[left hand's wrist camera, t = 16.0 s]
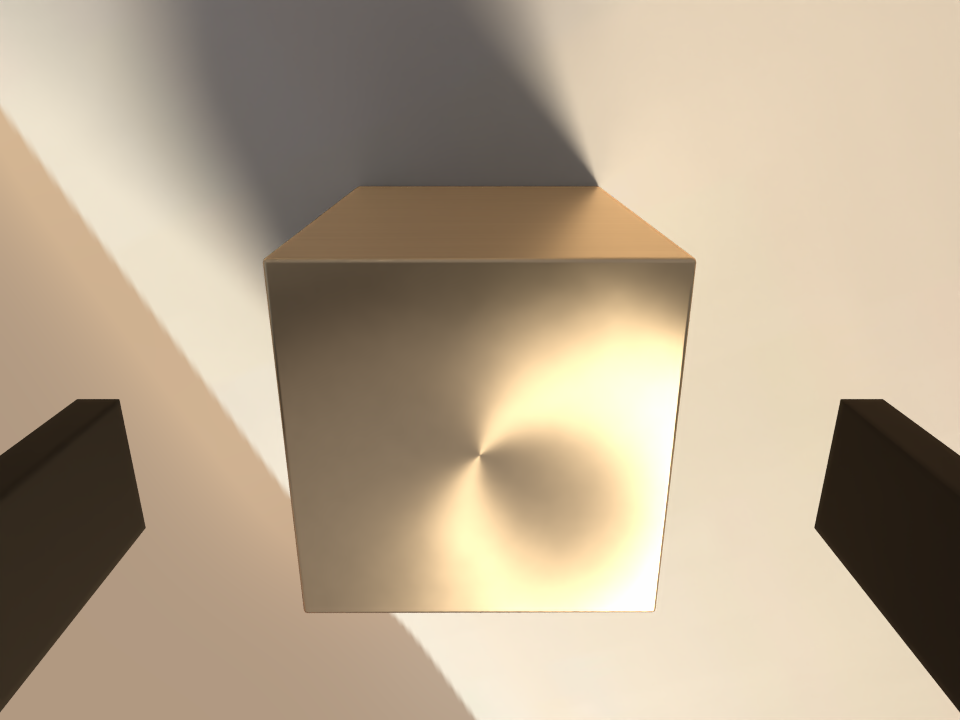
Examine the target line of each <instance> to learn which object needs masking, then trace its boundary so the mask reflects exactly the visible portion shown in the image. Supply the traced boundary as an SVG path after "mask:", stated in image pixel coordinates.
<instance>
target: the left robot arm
mask: <svg viewBox="0 0 960 720" xmlns="http://www.w3.org/2000/svg"><path fill="white" fill-rule="evenodd" d="M814 528H815V529H816V531H817V532H818V533H819V534H820V536H821V537H822V538H823V539H824V541H825V542H826V543H827V544H828V546H829V547H830V548H831V550H832V551H833V552H834V553H835V555H836V556H837V557H838V558H839V560H840V561H841V562H842V563H843V565H844V566H845V567H846V569H847V570H848V571H849V572H850V574H851V575H852V576H853V577H854V579H855V580H856V581H857V582H858V584H859V585H860V586H861V588H862V589H863V590H864V591H865V593H866V594H867V595H868V596H869V598H870V599H871V600H872V601H873V603H874V604H875V605H876V607H877V608H878V609H879V610H880V612H881V613H882V614H883V615H884V617H885V618H886V619H887V620H888V622H889V623H890V624H891V626H892V627H893V628H894V629H895V631H896V632H897V633H898V634H899V636H900V637H901V638H902V639H903V641H904V642H905V643H906V645H907V646H908V647H909V648H910V650H911V651H912V652H913V653H914V655H915V656H916V657H917V658H918V660H919V661H920V662H921V664H922V665H923V666H924V667H925V669H926V670H927V671H928V672H929V674H930V675H931V676H932V678H933V679H934V680H935V681H936V683H937V684H938V685H939V686H940V688H941V689H942V690H943V691H944V693H945V694H946V695H947V697H948V698H949V699H950V700H951V702H952V703H953V704H954V705H955V707H956V708H957V709H958V710H959V712H960V455H958V454H957V453H956V452H954V451H953V450H951V449H950V448H949V447H947V446H946V445H945V444H943V443H942V442H940V441H939V440H938V439H936V438H935V437H934V436H932V435H931V434H930V433H928V432H927V431H925V430H924V429H923V428H921V427H920V426H919V425H917V424H916V423H915V422H913V421H912V420H910V419H909V418H908V417H906V416H905V415H904V414H902V413H901V412H900V411H898V410H897V409H895V408H894V407H893V406H891V405H890V404H889V403H887V402H886V401H885V400H883V399H841V400H840V405H839V410H838V415H837V420H836V425H835V430H834V435H833V440H832V444H831V449H830V454H829V459H828V464H827V469H826V474H825V479H824V483H823V488H822V493H821V498H820V503H819V508H818V513H817V518H816V523H815V527H814ZM144 529H145V523H144V518H143V513H142V508H141V503H140V498H139V493H138V488H137V483H136V479H135V474H134V469H133V464H132V459H131V454H130V449H129V445H128V440H127V435H126V430H125V425H124V420H123V415H122V410H121V405H120V401H119V399H77V400H75V401H74V402H73V403H71V404H70V405H69V406H67V407H66V408H65V409H63V410H62V411H60V412H59V413H58V414H56V415H55V416H54V417H52V418H51V419H50V420H48V421H47V422H45V423H44V424H43V425H41V426H40V427H39V428H37V429H36V430H35V431H33V432H32V433H30V434H29V435H28V436H26V437H25V438H24V439H22V440H21V441H20V442H18V443H17V444H15V445H14V446H13V447H11V448H10V449H9V450H7V451H6V452H5V453H3V454H2V455H0V712H1V710H2V709H3V708H4V707H5V705H6V704H7V703H8V702H9V700H10V699H11V698H12V696H13V695H14V694H15V693H16V691H17V690H18V689H19V688H20V686H21V685H22V684H23V683H24V681H25V680H26V679H27V677H28V676H29V675H30V674H31V672H32V671H33V670H34V669H35V667H36V666H37V665H38V664H39V662H40V661H41V660H42V658H43V657H44V656H45V655H46V653H47V652H48V651H49V650H50V648H51V647H52V646H53V645H54V643H55V642H56V641H57V639H58V638H59V637H60V636H61V634H62V633H63V632H64V631H65V629H66V628H67V627H68V625H69V624H70V623H71V622H72V620H73V619H74V618H75V617H76V615H77V614H78V613H79V612H80V610H81V609H82V608H83V606H84V605H85V604H86V603H87V601H88V600H89V599H90V598H91V596H92V595H93V594H94V593H95V591H96V590H97V589H98V588H99V586H100V585H101V584H102V582H103V581H104V580H105V579H106V577H107V576H108V575H109V574H110V572H111V571H112V570H113V569H114V567H115V566H116V565H117V563H118V562H119V561H120V560H121V558H122V557H123V556H124V555H125V553H126V552H127V551H128V550H129V548H130V547H131V546H132V544H133V543H134V542H135V541H136V539H137V538H138V537H139V536H140V534H141V533H142V532H143V530H144Z"/></svg>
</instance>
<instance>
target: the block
mask: <svg viewBox="0 0 960 720" xmlns="http://www.w3.org/2000/svg"><path fill="white" fill-rule="evenodd" d="M263 267H264V276H265V284H266V293H267V301H268V309H269V318H270V326H271V335H272V343H273V352H274V360H275V369H276V377H277V386H278V394H279V403H280V411H281V420H282V428H283V436H284V445H285V453H286V462H287V470H288V479H289V487H290V496H291V504H292V513H293V521H294V530H295V538H296V546H297V555H298V563H299V572H300V580H301V589H302V597H303V606H304V611H305V612H306V613H450V612H653V611H655V608H656V599H657V591H658V582H659V574H660V565H661V557H662V548H663V540H664V531H665V523H666V514H667V506H668V497H669V489H670V480H671V472H672V463H673V455H674V446H675V438H676V429H677V421H678V412H679V404H680V395H681V387H682V378H683V370H684V361H685V353H686V344H687V336H688V327H689V319H690V310H691V302H692V293H693V285H694V276H695V268H696V260H695V258H694V257H692V256H691V255H690V254H688V253H687V252H686V251H684V250H683V249H682V248H680V247H679V246H678V245H676V244H675V243H674V242H672V241H671V240H670V239H668V238H667V237H666V236H664V235H663V234H662V233H660V232H659V231H658V230H656V229H655V228H654V227H652V226H651V225H650V224H648V223H647V222H646V221H644V220H643V219H642V218H640V217H639V216H638V215H636V214H635V213H634V212H632V211H631V210H630V209H628V208H627V207H626V206H624V205H623V204H622V203H620V202H619V201H618V200H616V199H615V198H614V197H612V196H611V195H610V194H608V193H607V192H606V191H604V190H603V189H602V188H600V187H598V186H359V187H357V188H356V189H354V190H353V191H352V192H351V193H349V194H348V195H347V196H345V197H344V198H343V199H341V200H340V201H339V202H338V203H336V204H335V205H334V206H332V207H331V208H330V209H328V210H327V211H326V212H325V213H323V214H322V215H321V216H319V217H318V218H317V219H315V220H314V221H313V222H312V223H310V224H309V225H308V226H306V227H305V228H304V229H302V230H301V231H300V232H299V233H297V234H296V235H295V236H293V237H292V238H291V239H289V240H288V241H287V242H286V243H284V244H283V245H282V246H280V247H279V248H278V249H276V250H275V251H274V252H272V253H271V254H270V255H269V256H267V257H266V258H265V259H264V261H263Z"/></svg>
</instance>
